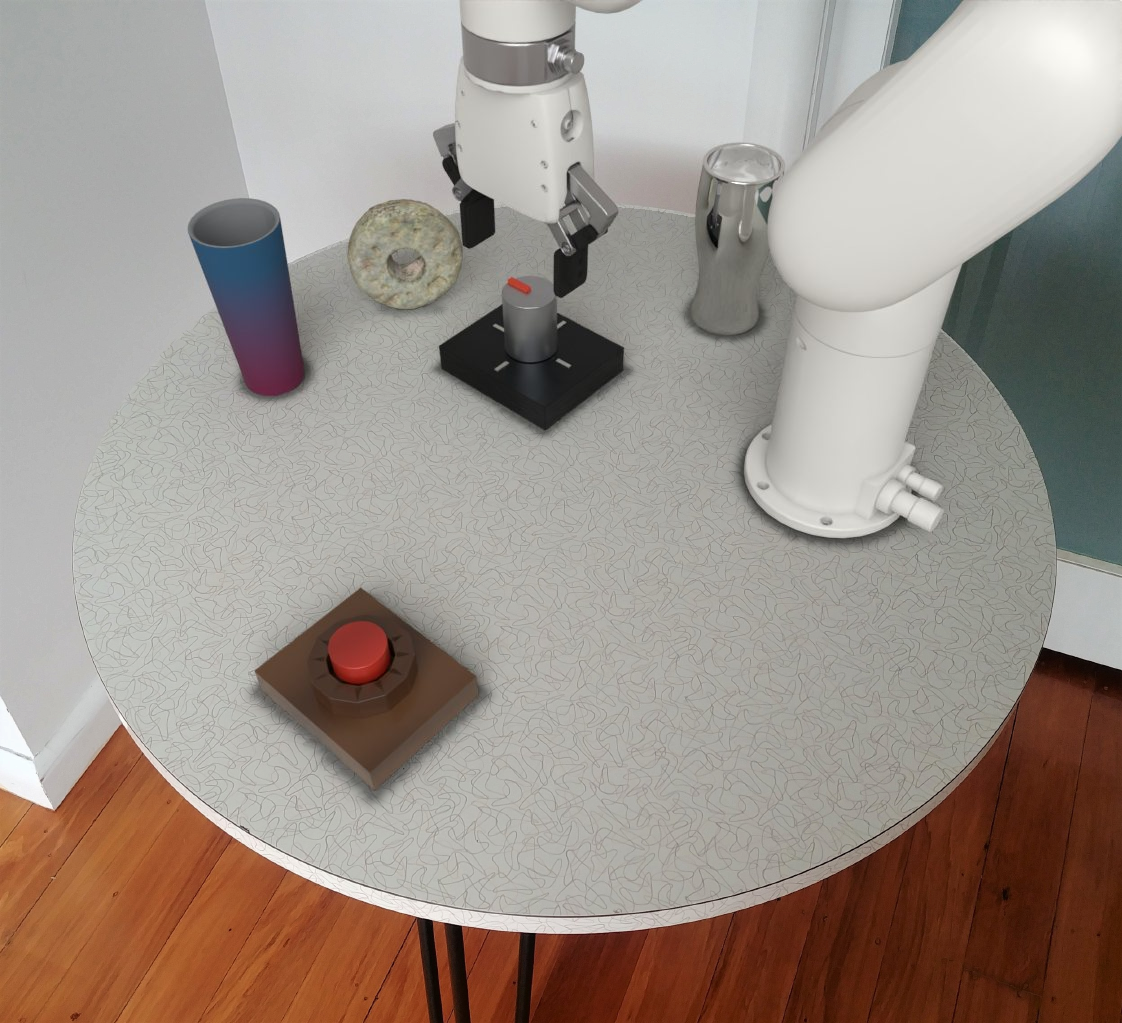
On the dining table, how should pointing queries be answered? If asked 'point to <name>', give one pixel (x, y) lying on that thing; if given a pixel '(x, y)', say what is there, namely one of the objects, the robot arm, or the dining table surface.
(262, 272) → the cup
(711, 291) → the beer glass
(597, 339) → the plate
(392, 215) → the stone ring
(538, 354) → the tap knob
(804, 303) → the robot arm
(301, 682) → the button block
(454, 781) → the dining table surface
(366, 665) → the button
